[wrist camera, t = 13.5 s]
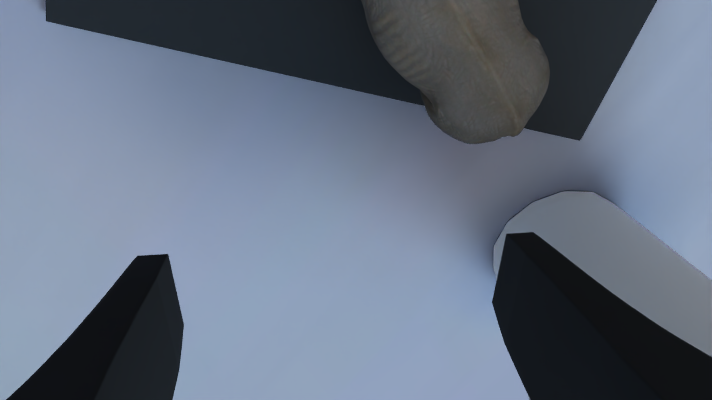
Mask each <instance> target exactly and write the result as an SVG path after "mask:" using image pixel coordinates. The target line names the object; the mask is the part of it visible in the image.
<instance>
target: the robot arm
mask: <svg viewBox="0 0 712 400" xmlns="http://www.w3.org/2000/svg"><path fill="white" fill-rule="evenodd" d="M492 303H493V307H494V310H495V314H496V317H497V321H498V324H499V327H500V330H501V333H502V336H503V339H504V343H505V345H506V347H507V350H508V352H509V354H510V356H511V359H512V361H513V363H514V365H515V367H516V370H517V372H518V374H519V376H520V378H521V380H522V383H523V385H524V387H525V389H526V391H527V393H528V396H529V398H530V400H712V357H711V356H709V355H708V354H706V353H704V352H702V351H701V350H699V349H697V348H696V347H694V346H692V345H691V344H689V343H687V342H686V341H684V340H682V339H680V338H679V337H677V336H675V335H674V334H672V333H670V332H669V331H667V330H666V329H664V328H663V327H661V326H659V325H658V324H656V323H655V322H653V321H652V320H650V319H649V318H648V317H646V316H645V315H643V314H642V313H640V312H639V311H637V310H636V309H634V308H633V307H631V306H630V305H628V304H627V303H626V302H624V301H623V300H621V299H620V298H619V297H617V296H616V295H615V294H613V293H612V292H610V291H609V290H608V289H606V288H605V287H604V286H602V285H601V284H600V283H598V282H597V281H596V280H595V279H593V278H592V277H591V276H589V275H588V274H587V273H585V272H584V271H583V270H582V269H580V268H579V267H578V266H577V265H575V264H574V263H573V262H571V261H570V260H569V259H568V258H566V257H565V256H564V255H563V254H561V253H560V252H559V251H557V250H556V249H555V248H554V247H552V246H551V245H550V244H549V243H547V242H546V241H545V240H543V239H542V238H541V237H539V236H538V235H537V234H535V233H534V232H525V233H509V234H506V237H505V242H504V247H503V252H502V257H501V262H500V266H499V271H498V276H497V281H496V286H495V291H494V296H493V301H492ZM183 328H184V323H183V319H182V314H181V310H180V305H179V301H178V297H177V292H176V288H175V283H174V279H173V274H172V270H171V265H170V261H169V256H168V254H161V255H145V256H137V257H136V258H135V259H134V260H133V261H132V263H131V264H130V265H129V266H128V267H127V269H126V270H125V271H124V272H123V274H122V275H121V276H120V277H119V279H118V280H117V281H116V282H115V284H114V285H113V286H112V287H111V289H110V290H109V291H108V292H107V293H106V295H105V296H104V297H103V298H102V299H101V301H100V302H99V303H98V304H97V305H96V307H95V308H94V309H93V310H92V311H91V312H90V314H89V315H88V316H87V317H86V318H85V319H84V320H83V322H82V323H81V324H80V325H79V326H78V327H77V329H76V330H75V331H74V332H73V333H72V334H71V335H70V336H69V338H68V339H67V340H66V341H65V342H64V343H63V344H62V345H61V346H60V347H59V348H58V349H57V350H56V351H55V352H54V353H53V354H52V355H51V356H50V358H49V359H48V360H47V361H46V362H45V363H44V364H43V365H42V366H41V367H40V368H39V369H38V370H37V371H36V372H35V373H34V374H33V375H32V376H31V377H30V378H29V379H28V380H27V381H26V382H25V383H24V384H23V385H22V386H21V387H20V388H18V389H17V390H16V391H15V392H14V393H13V394H12V395H11V396H10V397H9V398H8V399H6V400H172V399H173V395H174V390H175V386H176V382H177V377H178V372H179V366H180V358H181V349H182V339H183Z"/></svg>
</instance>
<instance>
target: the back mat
mask: <svg viewBox="0 0 712 400" xmlns="http://www.w3.org/2000/svg"><path fill="white" fill-rule="evenodd" d="M656 1H657V0H518V3H519V8H520V12H521V17H522V20H523V22H524V25H525V26H526V28H527V30H528V31H529V32H530V33H531V34H532V35H534V36H535V37H536V38H537V39H538V40H539V42H540V44H541V46H542V48H543V50H544V52H545V54H546V56H547V59H548V62H549V69H550V77H549V84H548V88H547V91H546V93H545V95H544V97H543V99H542V101H541V103H540V105H539V107H538V108H537V110H536V111H535V113H534V114H533V115H532V116H531V117H530V119H529V120H528V122H527V123H526V125H525V127H524V128H526V129H530V130H535V131H539V132H544V133H548V134H553V135H557V136H562V137H566V138H571V139H575V140H581V138H582V136H583V135H584V133H585V131H586V129H587V127H588V125H589V124H590V122H591V120H592V118H593V116H594V114H595V113H596V111H597V109H598V107H599V105H600V104H601V102H602V100H603V98H604V96H605V94H606V93H607V91H608V89H609V87H610V85H611V83H612V82H613V80H614V78H615V76H616V74H617V72H618V71H619V69H620V67H621V65H622V63H623V62H624V60H625V58H626V56H627V54H628V52H629V51H630V49H631V47H632V45H633V43H634V41H635V40H636V38H637V36H638V34H639V32H640V30H641V29H642V27H643V25H644V23H645V21H646V20H647V18H648V16H649V14H650V12H651V10H652V9H653V7H654V5H655V3H656ZM46 21H48V22H52V23H57V24H61V25H66V26H70V27H75V28H79V29H84V30H88V31H92V32H97V33H101V34H106V35H110V36H115V37H119V38H124V39H128V40H133V41H137V42H142V43H146V44H151V45H155V46H159V47H164V48H168V49H173V50H177V51H182V52H186V53H191V54H195V55H200V56H204V57H209V58H213V59H218V60H222V61H227V62H231V63H235V64H240V65H244V66H249V67H253V68H258V69H262V70H267V71H271V72H276V73H280V74H285V75H289V76H294V77H298V78H303V79H307V80H311V81H316V82H320V83H325V84H329V85H334V86H338V87H343V88H347V89H352V90H356V91H361V92H365V93H370V94H374V95H378V96H383V97H387V98H392V99H396V100H401V101H405V102H410V103H414V104H419V105H423V106H425V105H424V103H423V100H422V97H421V93H420V89H418V88H417V87H415V86H414V85H412V84H411V83H409V82H408V81H406V80H405V79H404V78H403V77H402V76H401V75H400V74H399V73H398V72H397V71H396V70H395V69H394V68H393V67H392V66H391V65H390V64H389V63H388V61H387V60H386V59H385V58H384V56H383V55H382V53H381V52H380V50H379V48H378V46H377V45H376V43H375V41H374V39H373V37H372V34H371V32H370V30H369V27H368V23H367V20H366V16H365V11H364V7H363V4H362V1H361V0H46Z"/></svg>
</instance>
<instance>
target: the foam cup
mask: <svg viewBox="0 0 712 400" xmlns="http://www.w3.org/2000/svg"><path fill="white" fill-rule="evenodd" d="M525 232H534V233H535V234H537V235H538V236H539V237H541V238H542V239H543V240H545V241H546V242H547V243H549V244H550V245H551V246H552V247H554V248H555V249H556V250H557V251H559V252H560V253H561V254H563V255H564V256H565V257H566V258H568V259H569V260H570V261H571V262H573V263H574V264H575V265H577V266H578V267H579V268H580V269H582V270H583V271H584V272H585V273H587V274H588V275H589V276H591V277H592V278H593V279H595V280H596V281H597V282H598V283H600V284H601V285H602V286H604V287H605V288H606V289H608V290H609V291H610V292H612V293H613V294H615V295H616V296H617V297H619V298H620V299H621V300H623V301H624V302H626V303H627V304H628V305H630V306H631V307H633V308H634V309H636V310H637V311H639V312H640V313H642V314H643V315H645V316H646V317H648V318H649V319H650V320H652V321H653V322H655V323H656V324H658V325H659V326H661V327H663V328H664V329H666V330H667V331H669V332H670V333H672V334H674V335H675V336H677V337H679V338H680V339H682V340H684V341H686V342H687V343H689V344H691V345H692V346H694V347H696V348H697V349H699V350H701V351H702V352H704V353H706V354H708V355H709V356H711V357H712V280H711V279H710V278H708V277H707V276H706V275H705V274H703V273H702V272H701V271H699V270H698V269H697V268H696V267H694V266H693V265H692V264H691V263H689V262H688V261H687V260H686V259H684V258H683V257H682V256H680V255H679V254H678V253H677V252H675V251H674V250H673V249H672V248H670V247H669V246H668V245H667V244H665V243H664V242H663V241H661V240H660V239H659V238H658V237H656V236H655V235H654V234H653V233H651V232H650V231H649V230H648V229H646V228H645V227H644V226H642V225H641V224H640V223H639V222H637V221H636V220H635V219H634V218H632V217H631V216H630V215H628V214H627V213H626V212H625V211H623V210H622V209H620V208H618V207H617V206H616V205H615V204H614V203H612V202H610V201H608V200H607V199H605V198H603V197H601V196H599V195H598V194H596V193H594V192H574V191H562V192H560V193H557V194H554V195H551V196H549V197H546V198H543V199H540V200H537V201H535V202H532V203H531V204H530V205H528V206H527V207H526V208H525V209H523V210H522V211H521V212H520V213H518V214H517V215H516V216H515V217H513V218H512V219H511V220H510V221H508V222H507V224H506V225H505V227H504V229H503V231H502V232H501V234H500V236H499V238H498V239H497V241H496V243H495V245H494V254H493V269H494V272H495V274H496V281H497V276H498V271H499V266H500V262H501V257H502V252H503V247H504V242H505V237H506V234H509V233H525ZM528 397H529V396H528ZM529 400H530V398H529Z"/></svg>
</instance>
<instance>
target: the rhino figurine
mask: <svg viewBox="0 0 712 400" xmlns="http://www.w3.org/2000/svg"><path fill="white" fill-rule="evenodd" d="M361 1H362V4H363V7H364V11H365V16H366V20H367V23H368V27H369V30H370V32H371V34H372V37H373V39H374V41H375V43H376V45H377V46H378V48H379V50H380V52H381V53H382V55H383V56H384V58H385V59H386V60H387V61H388V63H389V64H390V65H391V66H392V67H393V68H394V69H395V70H396V71H397V72H398V73H399V74H400V75H401V76H402V77H403V78H404V79H405V80H406V81H408V82H409V83H411V84H412V85H414V86H415V87H417V88H418V89H420V93H421V97H422V100H423V103H424V105H425V108H426V111H427V113H428V116H429V117H430V118H431V120H432V121H433V122H434V124H435V125H436V126H437V127H439V128H440V129H441V130H442V131H443V132H444V133H446V134H448V135H449V136H451V137H453V138H455V139H457V140H459V141H462V142H464V143H467V144H479V143H485V142H491V141H495V140H497V139H499V138H501V137H506V136H512V137H514V136H517V135H518V134H519V133H520V132H521V131H522V130H523V128H524V127H525V125H526V123H527V122H528V120H529V119H530V117H531V116H532V115H533V114H534V113H535V111H536V110H537V108H538V107H539V105H540V103H541V101H542V99H543V97H544V95H545V93H546V91H547V88H548V84H549V77H550V69H549V62H548V59H547V56H546V54H545V52H544V50H543V48H542V46H541V44H540V42H539V40H538V39H537V38H536V37H535V36H534V35H532V34H531V33H530V32H529V31H528V30H527V28H526V26H525V25H524V22H523V20H522V17H521V12H520V8H519V3H518V0H361Z"/></svg>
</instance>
